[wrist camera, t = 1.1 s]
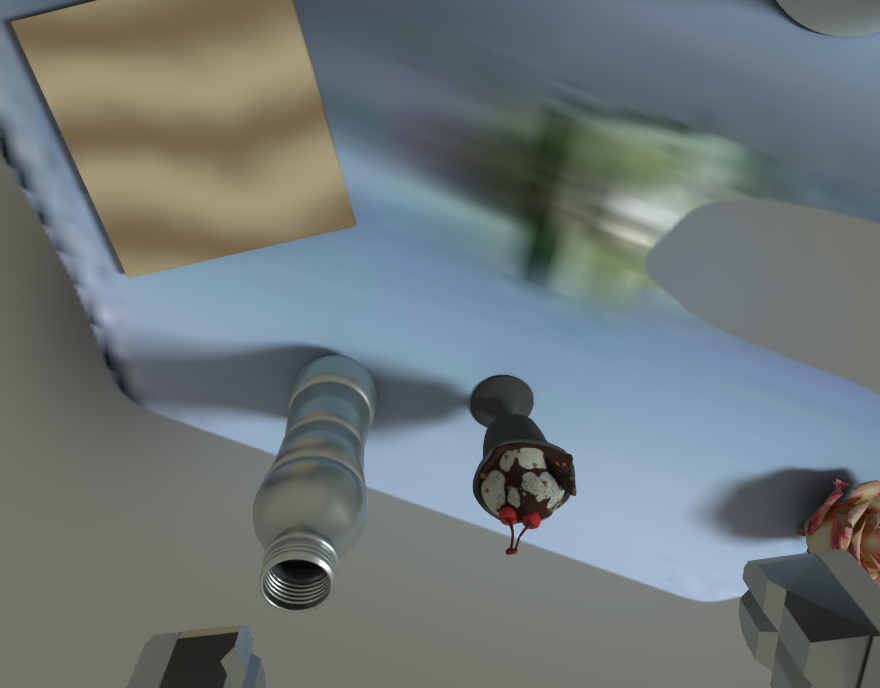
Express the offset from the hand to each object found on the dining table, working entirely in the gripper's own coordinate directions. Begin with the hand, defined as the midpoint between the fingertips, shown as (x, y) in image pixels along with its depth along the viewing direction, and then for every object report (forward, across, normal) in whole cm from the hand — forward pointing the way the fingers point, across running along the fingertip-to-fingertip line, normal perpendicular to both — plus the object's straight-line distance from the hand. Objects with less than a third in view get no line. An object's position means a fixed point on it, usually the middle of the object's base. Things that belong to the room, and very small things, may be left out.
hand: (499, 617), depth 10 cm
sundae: (+36, -4, +18) cm, 40 cm away
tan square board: (+36, +14, -5) cm, 39 cm away
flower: (+36, -32, +32) cm, 58 cm away
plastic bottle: (+36, +9, +14) cm, 40 cm away
